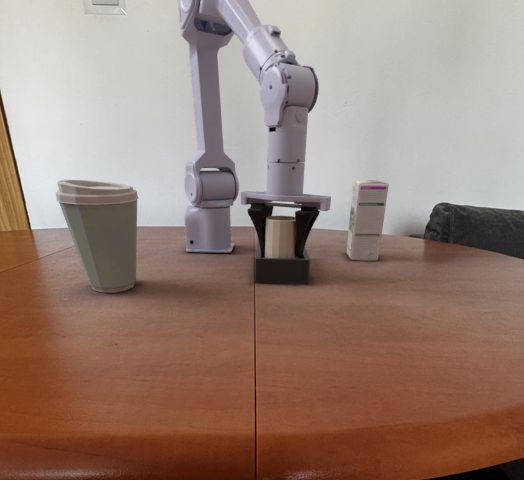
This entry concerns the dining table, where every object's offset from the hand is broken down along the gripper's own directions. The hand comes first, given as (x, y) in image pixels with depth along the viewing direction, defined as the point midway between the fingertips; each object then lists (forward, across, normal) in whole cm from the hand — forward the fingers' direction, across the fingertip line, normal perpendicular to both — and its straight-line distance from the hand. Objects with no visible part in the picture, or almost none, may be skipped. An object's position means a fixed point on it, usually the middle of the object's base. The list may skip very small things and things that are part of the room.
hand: (282, 253), depth 63 cm
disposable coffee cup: (+4, +21, +18) cm, 28 cm away
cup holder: (+4, +2, -4) cm, 6 cm away
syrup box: (+4, -10, -20) cm, 23 cm away
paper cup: (+2, 0, 0) cm, 2 cm away
